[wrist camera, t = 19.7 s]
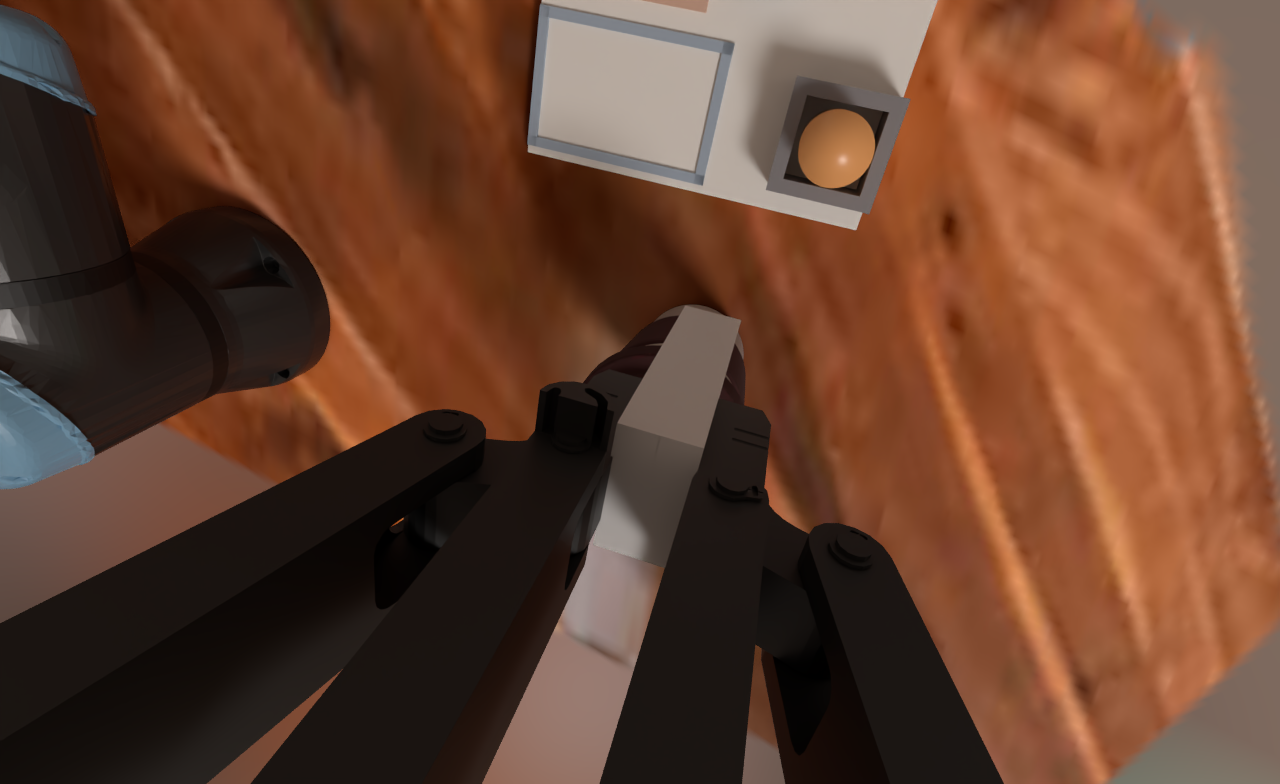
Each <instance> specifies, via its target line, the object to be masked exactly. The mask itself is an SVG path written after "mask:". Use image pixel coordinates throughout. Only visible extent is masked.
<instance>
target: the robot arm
mask: <svg viewBox="0 0 1280 784" xmlns="http://www.w3.org/2000/svg"><path fill="white" fill-rule="evenodd" d="M94 116H97V114H96V110H95V108H94V106H93V105H92V104H91V103H90V102H89V101H88V100H87V97H86V94H85V91H84V88H83V85H82V82H81V79H80V76H79V73H78V70H77V67H76V64H75V61H74V59H73V56H72V53H71V50H70V48H69V46H68V45H67V43H66V42H65V40H64V39H63V38H62V36H61V35H60V34H59V33H58V32H57V31H56V30H55V29H53V28H52V27H51V26H50V25H48V24H47V23H46V22H44V21H42V20H41V19H39V18H37V17H35V16H33V15H31V14H29V13H26V12H24V11H21V10H18V9H14V8H11V7H7V6H4V5H0V489H13V488H19V487H23V486H27V485H30V484H33V483H36V482H38V481H40V480H43V479H45V478H48V477H50V476H52V475H55V474H57V473H59V472H62V471H64V470H67V469H69V468H72V467H74V466H76V465H82V464H85V463H88V462H89V461H91V460H92V459H93V457H94V456H96V455H98V454H100V453H102V452H104V451H105V450H107V449H109V448H111V447H113V446H115V445H117V444H119V443H121V442H123V441H125V440H127V439H129V438H131V437H133V436H135V435H136V434H139V433H141V432H143V431H145V430H146V429H148V428H150V427H152V426H154V425H156V424H158V423H160V422H162V421H164V420H166V419H168V418H170V417H172V416H174V415H176V414H178V413H180V412H182V411H183V410H185V409H187V408H189V407H191V406H193V405H195V404H197V403H199V402H201V401H203V400H205V399H207V398H209V397H211V396H213V395H215V394H220V393H227V392H234V391H241V390H248V389H255V388H262V387H269V386H275V385H279V384H282V383H285V382H288V381H290V380H292V379H294V378H295V377H297V376H299V375H301V374H303V373H305V372H306V371H308V370H310V369H311V368H312V367H313V366H315V365H316V364H317V362H318V361H319V360H320V359H321V357H322V355H323V354H324V352H325V349H326V347H327V344H328V340H329V334H330V315H329V308H328V304H327V299H326V296H325V293H324V290H323V287H322V285H321V283H320V280H319V278H318V276H317V274H316V272H315V271H314V269H313V267H312V265H311V264H310V262H309V261H308V259H307V258H306V257H305V255H304V254H303V253H302V251H301V250H300V249H299V248H298V246H297V245H296V244H295V243H294V242H293V241H292V240H291V239H290V238H289V237H288V236H287V235H286V234H285V233H284V232H282V231H281V230H280V229H279V228H277V227H276V226H275V225H273V224H272V223H270V222H269V221H267V220H266V219H264V218H262V217H260V216H258V215H256V214H254V213H252V212H249V211H247V210H243V209H240V208H235V207H228V206H218V207H211V208H206V209H201V210H195V211H191V212H187V213H185V214H182V215H180V216H177V217H176V218H174V219H172V220H171V221H169V222H168V223H167V224H166V225H164V226H162V227H161V228H159V229H158V230H156V231H155V232H153V233H151V234H150V235H148V236H147V237H145V238H144V239H142V240H141V241H139V242H138V243H136V244H135V245H134V246H132V247H131V248H130V245H129V241H128V238H127V234H126V230H125V227H124V223H123V220H122V216H121V212H120V209H119V205H118V202H117V198H116V195H115V191H114V187H113V184H112V180H111V177H110V173H109V169H108V166H107V162H106V159H105V155H104V151H103V148H102V144H101V141H100V137H99V133H98V130H97V126H96V123H95V119H94ZM740 323H741V320H739V319H735V318H731V317H728V316H724V315H720V314H716V313H712V312H709V311H705V310H701V309H697V308H693V307H690V306H686V305H685V307H684V309H683V310H682V312H681V314H680V315H679V317H678V319H677V321H676V322H675V324H674V326H673V328H672V329H671V331H670V333H669V334H668V336H667V338H666V340H665V341H664V343H663V345H662V346H661V348H660V350H659V352H658V353H657V355H656V357H655V359H654V360H653V362H652V364H651V365H650V367H649V369H648V371H647V372H646V374H645V376H644V377H643V379H642V378H639V377H635V376H631V375H628V374H624V373H621V372H617V371H614V370H610V369H609V370H606V371H604V372H602V373H599V374H597V375H595V376H593V377H592V379H591V380H590V381H589V383H588V384H585V383H579V382H557V383H553V384H549V385H547V386H545V387H544V388H542V389H541V390H540V395H539V403H538V411H537V419H536V427H535V431H534V433H533V434H532V435H531V436H530V438H529V439H528V440H527V441H503V440H493V439H485V437H486V429H485V427H484V425H483V423H482V421H480V420H479V419H477V418H476V417H474V416H473V415H471V414H467V413H464V412H461V411H457V410H449V409H442V410H433V411H427V412H424V413H421V414H418V415H416V416H414V417H412V418H410V419H408V420H406V421H404V422H402V423H400V424H398V425H396V426H394V427H392V428H390V429H388V430H386V431H384V432H382V433H380V434H378V435H376V436H374V437H372V438H370V439H368V440H366V441H364V442H362V443H360V444H358V445H356V446H354V447H352V448H350V449H348V450H346V451H344V452H342V453H340V454H338V455H336V456H334V457H332V458H330V459H328V460H326V461H324V462H322V463H320V464H318V465H316V466H314V467H312V468H310V469H308V470H306V471H304V472H302V473H300V474H298V475H296V476H294V477H292V478H290V479H288V480H286V481H284V482H282V483H280V484H278V485H276V486H274V487H272V488H270V489H268V490H266V491H264V492H262V493H260V494H258V495H256V496H254V497H252V498H250V499H248V500H246V501H244V502H242V503H240V504H238V505H236V506H234V507H232V508H230V509H228V510H226V511H224V512H222V513H220V514H218V515H216V516H214V517H212V518H210V519H208V520H206V521H204V522H202V523H200V524H198V525H196V526H194V527H192V528H190V529H188V530H186V531H184V532H182V533H180V534H178V535H176V536H174V537H172V538H170V539H168V540H166V541H164V542H162V543H160V544H158V545H156V546H154V547H152V548H150V549H148V550H146V551H144V552H142V553H140V554H138V555H136V556H134V557H132V558H130V559H128V560H126V561H124V562H122V563H120V564H118V565H116V566H114V567H112V568H110V569H108V570H106V571H104V572H102V573H100V574H98V575H96V576H94V577H92V578H90V579H88V580H86V581H84V582H82V583H80V584H78V585H76V586H74V587H72V588H70V589H68V590H66V591H64V592H62V593H60V594H58V595H56V596H54V597H52V598H50V599H48V600H46V601H44V602H42V603H40V604H38V605H36V606H34V607H32V608H30V609H28V610H26V611H24V612H22V613H20V614H18V615H16V616H14V617H12V618H10V619H8V620H6V621H4V622H2V623H0V784H206V783H208V782H209V781H210V780H211V779H212V778H214V777H215V776H216V775H217V774H218V773H219V772H221V771H222V770H223V769H224V768H226V767H227V766H228V765H229V764H230V763H231V762H232V761H234V760H235V759H236V758H237V757H239V756H240V755H241V754H242V753H243V752H245V751H246V750H247V749H248V748H249V747H250V746H251V745H253V744H254V743H255V742H256V741H257V740H259V739H260V738H261V737H262V736H264V735H265V734H266V733H267V732H268V731H269V730H271V729H272V728H273V727H274V726H275V725H277V724H278V723H279V722H280V721H281V720H283V719H284V718H285V717H286V716H287V715H288V714H290V713H291V712H292V711H293V710H294V709H296V708H297V707H298V706H299V705H300V704H302V703H303V702H304V701H305V700H306V699H308V698H309V697H310V696H311V695H312V694H313V693H315V692H316V691H317V690H318V689H319V688H321V687H322V686H323V685H324V684H325V683H326V682H328V681H329V680H330V679H331V678H332V677H334V676H335V675H336V674H337V673H338V672H340V671H341V670H342V669H343V670H342V671H341V672H340V673H339V675H338V676H337V677H336V678H335V680H334V681H333V682H332V683H331V685H330V686H329V687H328V689H326V691H325V692H324V693H323V694H322V696H321V697H320V698H319V699H318V701H317V702H316V703H315V704H314V706H313V707H312V708H311V709H310V711H309V712H308V713H307V714H306V716H305V717H304V718H303V719H302V720H301V722H300V723H299V724H298V725H297V727H296V728H295V729H294V730H293V732H292V733H291V734H290V735H289V737H288V738H287V739H286V740H285V742H284V743H283V744H282V745H281V747H280V748H279V749H278V750H277V751H276V753H275V754H274V755H273V756H272V758H271V759H270V760H269V761H268V763H267V764H266V765H265V766H264V768H263V769H262V770H261V771H260V773H259V774H258V775H257V776H256V778H255V779H254V780H253V781H252V783H251V784H482V782H483V780H484V778H485V775H486V774H487V772H488V769H489V767H490V765H491V763H492V761H493V759H494V756H495V755H496V752H497V750H498V748H499V746H500V744H501V742H502V739H503V737H504V735H505V733H506V731H507V729H508V727H509V725H510V723H511V720H512V718H513V716H514V714H515V712H516V710H517V707H518V705H519V703H520V701H521V699H522V697H523V695H524V693H525V690H526V688H527V686H528V684H529V682H530V680H531V678H532V675H533V674H534V671H535V669H536V667H537V665H538V663H539V661H540V659H541V656H542V654H543V652H544V650H545V648H546V646H547V644H548V642H549V639H550V637H551V635H552V633H553V631H554V629H555V627H556V625H557V622H558V620H559V618H560V616H561V614H562V612H563V610H564V607H565V605H566V603H567V601H568V599H569V597H570V595H571V593H572V590H573V588H574V586H575V584H576V582H577V580H578V578H579V576H580V573H581V571H582V569H583V567H584V565H585V561H586V556H587V550H588V545H589V542H590V540H591V538H592V536H593V534H594V532H595V530H596V533H595V538H594V543H593V545H595V546H598V547H602V548H605V549H608V550H611V551H614V552H617V553H620V554H623V555H626V556H629V557H633V558H636V559H639V560H642V561H645V562H648V563H651V564H654V565H657V566H660V567H664V568H665V570H664V573H663V576H662V580H661V583H660V586H659V589H658V593H657V596H656V599H655V603H654V606H653V609H652V613H651V616H650V619H649V622H648V626H647V629H646V632H645V636H644V639H643V642H642V645H641V649H640V652H639V655H638V659H637V662H636V665H635V668H634V672H633V675H632V678H631V682H630V685H629V688H628V692H627V695H626V698H625V701H624V705H623V708H622V711H621V715H620V718H619V721H618V724H617V728H616V731H615V734H614V738H613V741H612V744H611V748H610V751H609V754H608V757H607V761H606V764H605V767H604V770H603V774H602V777H601V781H600V784H742V777H743V767H744V756H745V745H746V736H747V725H748V715H749V704H750V694H751V684H752V673H753V663H754V652H755V644H756V645H757V646H759V647H760V648H762V654H761V661H762V666H763V671H764V676H765V681H766V686H767V692H768V697H769V702H770V707H771V712H772V717H773V723H774V728H775V733H776V738H777V743H778V748H779V753H780V759H781V764H782V769H783V774H784V779H785V784H1004V783H1003V781H1002V779H1001V777H1000V775H999V773H998V771H997V769H996V767H995V765H994V763H993V761H992V759H991V757H990V755H989V753H988V751H987V749H986V747H985V745H984V743H983V741H982V739H981V737H980V735H979V733H978V731H977V729H976V727H975V724H974V722H973V720H972V718H971V716H970V714H969V712H968V710H967V708H966V706H965V704H964V702H963V700H962V698H961V696H960V694H959V692H958V690H957V688H956V686H955V684H954V682H953V680H952V678H951V676H950V674H949V672H948V670H947V668H946V666H945V664H944V662H943V660H942V658H941V656H940V654H939V652H938V650H937V648H936V646H935V644H934V642H933V640H932V638H931V636H930V634H929V632H928V630H927V628H926V626H925V624H924V622H923V620H922V618H921V616H920V614H919V612H918V610H917V608H916V606H915V604H914V602H913V600H912V598H911V596H910V594H909V592H908V590H907V588H906V586H905V584H904V582H903V580H902V578H901V576H900V574H899V572H898V570H897V568H896V566H895V564H894V562H893V560H892V558H891V557H890V555H889V554H888V552H887V551H886V550H885V548H884V547H883V546H882V545H881V544H880V543H878V542H877V541H876V540H875V539H873V538H872V537H871V536H870V535H868V534H866V533H864V532H862V531H860V530H858V529H856V528H854V527H850V526H846V525H843V524H839V523H824V524H821V525H818V526H816V527H814V528H813V529H812V531H811V532H810V534H808V533H806V532H804V531H802V530H800V529H798V528H797V527H795V526H793V525H791V524H790V523H788V522H787V521H785V520H784V519H782V518H781V517H780V516H779V515H778V514H777V513H775V512H774V510H773V509H772V508H771V507H770V505H769V498H768V493H767V490H766V489H765V488H764V485H765V476H766V466H767V457H768V448H769V438H770V429H771V424H770V422H769V421H768V419H767V417H766V415H765V414H764V412H763V411H762V410H758V409H755V408H751V407H747V406H744V405H740V404H737V403H733V402H730V401H726V400H723V399H719V396H720V393H721V389H722V386H723V382H724V379H725V375H726V372H727V368H728V365H729V361H730V358H731V354H732V351H733V347H734V344H735V340H736V337H737V333H738V330H739V326H740ZM403 517H404V520H402V521H401V522H399V523H398V524H396V525H394V526H392V525H393V524H394V523H396V522H397V521H399V520H400V519H402V518H403ZM391 526H392V527H391Z"/></svg>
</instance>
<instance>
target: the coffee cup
mask: <svg viewBox="0 0 1280 784" xmlns="http://www.w3.org/2000/svg"><path fill="white" fill-rule="evenodd" d="M686 306H690V307H693V308H697V309H701V310H705V311H709V312H712V313H716V314H720V315H723V314H721V313H719V312H718V311H716V310H714V309H711V308H709V307H706V306H701V305H686ZM684 307H685V305H682V306H678V307H674V308H672V309H670V310H668V311H666V312H664V313H663V314H662V315H660V316H659V317H658V318H657V319H656V320H655V321H654V322H652V323H651V324H649V325H648V326H646V327H645V328H644V329H642V330H641V331H640V332H639V333H638V334H637V335H636V336H635V337H634V338H633V339H632V340H631V341H630V342H629V343H628V344H627V345H626V346H625V347H624V348H623V349H622V350H621V351H620V352H618V353H616V354H614V355H612V356H610V357H609V358H607V359H606V360H604V361H603V362H602V363H600V364H599V365H598V366H597V367H596V368H595V369H594V370H593V371H592V372H591V373H590V375H589V376H588V377H587V378H586V380H585V381H584V382H583V383H585V384H588V383H589V381H590V380H591V379H592V377H593V376H595V375H597V374H599V373H602V372H604V371H606V370H609V369H610V370H614V371H617V372H621V373H624V374H628V375H631V376H635V377H639V378H642V379H643V377H644V376H645V374H646V372H647V371H648V369H649V367H650V365H651V364H652V362H653V360H654V359H655V357H656V355H657V353H658V352H659V350H660V348H661V346H662V345H663V343H664V341H665V340H666V338H667V336H668V334H669V333H670V331H671V329H672V328H673V326H674V324H675V322H676V321H677V319H678V317H679V315H680V314H681V312H682V310H683V309H684ZM743 356H744V353H743V344H742V341H741V338H740V335H739V333H737V337H736V340H735V344H734V347H733V351H732V354H731V358H730V361H729V365H728V368H727V372H726V375H725V379H724V382H723V386H722V389H721V393H720V396H719V399H723V400H726V401H730V402H733V403H737V404H740V405H744V398H745V367H744V362H743Z"/></svg>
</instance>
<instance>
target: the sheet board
mask: <svg viewBox="0 0 1280 784" xmlns="http://www.w3.org/2000/svg"><path fill="white" fill-rule="evenodd" d="M936 3H937V0H542V3H541V4H540V10H539V21H538V32H537V43H536V54H535V65H534V76H533V87H532V98H531V109H530V120H529V131H528V142H527V144H528V152H530V153H534V154H538V155H542V156H547V157H551V158H555V159H559V160H563V161H568V162H572V163H576V164H580V165H584V166H589V167H593V168H597V169H601V170H605V171H610V172H614V173H618V174H622V175H626V176H631V177H635V178H639V179H643V180H647V181H652V182H656V183H660V184H664V185H668V186H673V187H677V188H681V189H685V190H689V191H694V192H698V193H702V194H706V195H710V196H714V197H719V198H723V199H727V200H731V201H735V202H740V203H744V204H748V205H752V206H756V207H761V208H765V209H769V210H773V211H777V212H782V213H786V214H790V215H794V216H798V217H803V218H807V219H811V220H815V221H819V222H824V223H828V224H832V225H836V226H840V227H845V228H849V229H853V230H856V229H857V226H858V223H859V220H860V218H861V215H862V213H866V214H869V213H870V210H871V208H872V205H873V202H874V199H875V196H876V194H877V191H878V188H879V185H880V183H881V180H882V177H883V174H884V171H885V169H886V166H887V163H888V160H889V158H890V155H891V152H892V149H893V146H894V144H895V141H896V138H897V135H898V133H899V130H900V127H901V124H902V121H903V119H904V116H905V113H906V110H907V108H908V105H909V102H910V99H908V98H903V96H904V93H905V91H906V88H907V85H908V82H909V79H910V77H911V74H912V71H913V68H914V65H915V62H916V60H917V57H918V54H919V51H920V48H921V45H922V43H923V40H924V37H925V34H926V31H927V29H928V26H929V23H930V20H931V17H932V14H933V12H934V9H935V6H936ZM833 108H841V109H845V110H849V111H852V112H855V113H857V114H859V115H860V116H862V117H863V118H864V119H865V120H866V121H867V122H868V124H869V125H870V127H871V129H872V131H873V134H874V139H875V150H874V155H873V158H872V161H871V163H870V165H869V167H868V168H867V170H866V171H865V172H864V173H863V175H862V176H861V177H859V178H858V179H857V180H856V181H854V182H853V183H851V184H849V185H846V186H844V187H839V188H825V187H821V186H818V185H816V184H814V183H813V182H811V181H810V180H809V179H808V178H807V177H806V176H805V174H804V173H803V171H802V169H801V167H800V163H799V158H798V149H799V141H800V137H801V134H802V131H803V129H804V128H805V126H806V124H807V123H808V122H809V121H810V120H811V119H812V118H813V117H814V116H815V115H817V114H818V113H820V112H822V111H825V110H828V109H833Z"/></svg>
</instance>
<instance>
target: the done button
mask: <svg viewBox="0 0 1280 784" xmlns="http://www.w3.org/2000/svg"><path fill="white" fill-rule="evenodd" d="M874 150H875V139H874V134H873V131H872V129H871V127H870V125H869V124H868V122H867V121H866V120H865V119H864V118H863V117H862V116H860V115H859V114H857V113H855V112H852V111H849V110H845V109H841V108H833V109H828V110H825V111H822V112H820V113H818V114H817V115H815V116H814V117H813V118H812V119H811V120H810V121H809V122H808V123H807V124H806V126H805V128H804V129H803V131H802V134H801V137H800V141H799V149H798V158H799V163H800V167H801V169H802V171H803V173H804V174H805V176H806V177H807V178H808V179H809V180H810V181H811V182H813V183H814V184H816V185H818V186H821V187H825V188H839V187H844V186H846V185H849V184H851V183H853V182H854V181H856V180H857V179H858V178H859V177H861V176H862V175H863V173H864V172H865V171H866V170H867V168H868V167H869V165H870V163H871V161H872V158H873V155H874Z"/></svg>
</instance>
